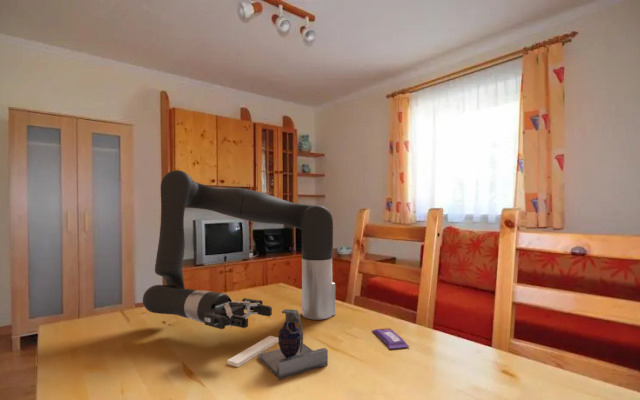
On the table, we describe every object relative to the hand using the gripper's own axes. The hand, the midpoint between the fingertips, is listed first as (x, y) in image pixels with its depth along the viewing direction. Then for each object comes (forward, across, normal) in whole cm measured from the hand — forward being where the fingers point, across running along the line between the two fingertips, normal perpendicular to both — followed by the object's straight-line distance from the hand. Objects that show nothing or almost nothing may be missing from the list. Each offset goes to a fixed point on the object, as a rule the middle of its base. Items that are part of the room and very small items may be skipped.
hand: (259, 316), depth 76 cm
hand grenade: (+9, 0, +8) cm, 11 cm away
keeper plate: (+9, 0, +8) cm, 12 cm away
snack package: (+24, +21, +9) cm, 33 cm away
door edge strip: (-1, 0, +8) cm, 8 cm away
